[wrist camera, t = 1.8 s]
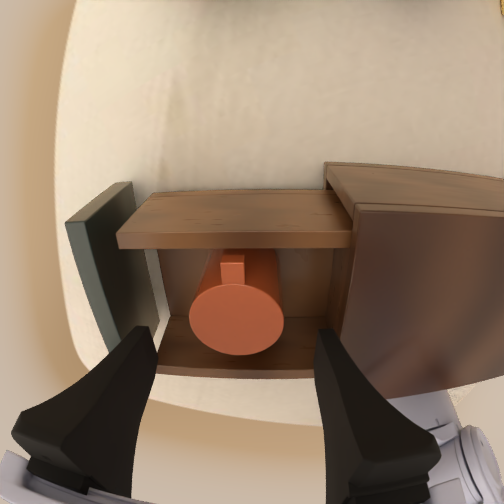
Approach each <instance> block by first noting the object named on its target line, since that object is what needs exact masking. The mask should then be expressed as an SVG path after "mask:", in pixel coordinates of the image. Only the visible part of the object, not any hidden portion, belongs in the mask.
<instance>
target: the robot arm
mask: <svg viewBox="0 0 504 504" xmlns="http://www.w3.org/2000/svg"><path fill="white" fill-rule="evenodd" d="M158 359H159V358H158V355H157V351H156V348H155V345H154V342H153V339H152V335H151V332H150V329H149V326H139V325H136V326H135V327H134V328H133V329H132V330H131V331H130V332H129V333H128V334H127V335H126V336H125V337H124V338H123V340H122V341H121V342H120V343H119V344H118V345H117V346H116V347H115V348H114V349H113V350H112V351H111V352H110V353H109V354H108V355H107V356H106V357H105V358H104V359H103V360H102V361H101V362H100V363H99V364H98V365H97V366H95V367H94V368H93V369H92V370H91V371H90V372H89V373H88V374H86V375H85V376H84V377H83V378H81V379H80V380H79V381H78V382H76V383H75V384H73V385H72V386H70V387H69V388H67V389H66V390H64V391H63V392H61V393H60V394H58V395H56V396H54V397H53V398H51V399H49V400H47V401H45V402H43V403H41V404H39V405H37V406H35V407H32V408H30V409H27V410H25V411H22V412H21V414H20V415H19V417H18V419H17V421H16V423H15V425H14V427H13V430H12V431H11V435H12V437H13V439H14V440H15V441H16V442H17V443H18V444H19V445H20V446H21V447H22V448H23V449H24V450H25V451H26V452H27V453H28V454H29V455H31V458H30V460H29V461H28V460H27V459H25V458H23V457H22V456H20V455H17V454H15V453H13V452H11V451H9V450H6V452H5V454H4V457H3V459H2V461H1V464H0V497H1V498H2V499H4V500H6V501H7V502H9V503H10V504H154V503H149V502H144V501H139V500H135V499H131V490H132V473H133V463H134V455H135V448H136V441H137V436H138V430H139V426H140V422H141V418H142V415H143V412H144V409H145V406H146V403H147V400H148V397H149V394H150V391H151V388H152V385H153V382H154V379H155V374H156V369H157V364H158ZM313 365H314V379H315V386H316V392H317V397H318V402H319V407H320V413H321V418H322V423H323V430H324V442H325V459H326V460H325V461H326V504H504V486H503V483H502V480H501V475H500V471H499V467H498V463H497V461H496V458H495V455H494V453H493V450H492V448H491V446H490V444H489V442H488V440H487V438H486V437H485V435H484V433H483V432H482V431H481V429H480V428H478V427H473V426H471V425H467V426H466V427H464V428H463V427H462V426H461V423H460V421H459V418H458V416H457V413H456V411H455V408H454V406H453V403H452V401H451V398H450V396H449V393H448V391H447V389H446V390H441V391H436V392H430V393H425V394H419V395H413V396H407V397H400V398H393V399H385V398H384V397H383V396H382V395H381V394H380V393H379V392H378V391H377V390H376V389H375V388H374V386H373V385H372V384H371V383H370V382H369V381H368V379H367V378H366V377H365V376H364V374H363V373H362V372H361V371H360V369H359V368H358V367H357V365H356V364H355V362H354V361H353V359H352V358H351V357H350V355H349V354H348V352H347V351H346V349H345V347H344V346H343V344H342V343H341V341H340V339H339V338H338V336H337V334H336V332H335V330H334V329H333V328H329V329H318V333H317V340H316V347H315V353H314V360H313Z"/></svg>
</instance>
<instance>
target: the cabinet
mask: <svg viewBox="0 0 504 504" xmlns="http://www.w3.org/2000/svg"><path fill="white" fill-rule="evenodd" d="M323 190H334V191H335V193H336V194H337V196H338V197H339V199H340V201H341V202H342V204H343V206H344V207H345V209H346V210H347V212H348V214H349V215H350V217H351V219H352V220H353V229H352V237H351V245H350V253H349V260H348V267H347V274H346V281H345V287H344V294H343V300H342V306H341V311H340V317H339V323H338V328H337V333H336V334H337V336H338V338H339V339H340V341H341V343H342V344H343V346H344V347H345V349H346V351H347V352H348V354H349V355H350V357H351V358H352V359H353V361H354V362H355V364H356V365H357V367H358V368H359V369H360V371H361V372H362V373H363V374H364V376H365V377H366V378H367V379H368V381H369V382H370V383H371V384H372V385H373V386H374V388H375V389H376V390H377V391H378V392H379V393H380V394H381V395H382V396H383V397H384V398H385V399H393V398H400V397H407V396H413V395H419V394H425V393H430V392H436V391H441V390H446V389H451V388H455V387H460V386H464V385H468V384H472V383H477V382H480V381H484V380H488V379H492V378H495V377H499V376H503V375H504V179H501V178H495V177H488V176H482V175H475V174H468V173H460V172H452V171H444V170H435V169H426V168H415V167H404V166H392V165H378V164H362V163H341V162H325V163H324V183H323Z"/></svg>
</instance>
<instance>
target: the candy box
mask: <svg viewBox="0 0 504 504" xmlns="http://www.w3.org/2000/svg"><path fill="white" fill-rule="evenodd" d="M501 5H502V14H503V15H504V0H501Z"/></svg>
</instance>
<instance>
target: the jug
mask: <svg viewBox="0 0 504 504" xmlns="http://www.w3.org/2000/svg"><path fill="white" fill-rule="evenodd" d="M189 322H190V325H191V328H192V330H193V332H194V333H195V335H196V336H197V337H198V339H199V340H200V341H201V342H203V343H204V344H205V345H207V346H208V347H210V348H212V349H214V350H216V351H219V352H221V353H225V354H230V355H250V354H254V353H258V352H261V351H263V350H265V349H267V348H268V347H270V346H271V345H273V344H274V343H275V342H276V341H277V340H278V338H279V337H280V335H281V333H282V331H283V328H284V308H283V293H282V278H281V264H280V260H279V257H278V255H277V253H276V252H275V250H274V249H273V248H227V249H210V250H209V252H208V254H207V256H206V259H205V262H204V266H203V269H202V272H201V275H200V278H199V281H198V285H197V288H196V291H195V294H194V298H193V301H192V304H191V307H190V311H189Z"/></svg>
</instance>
